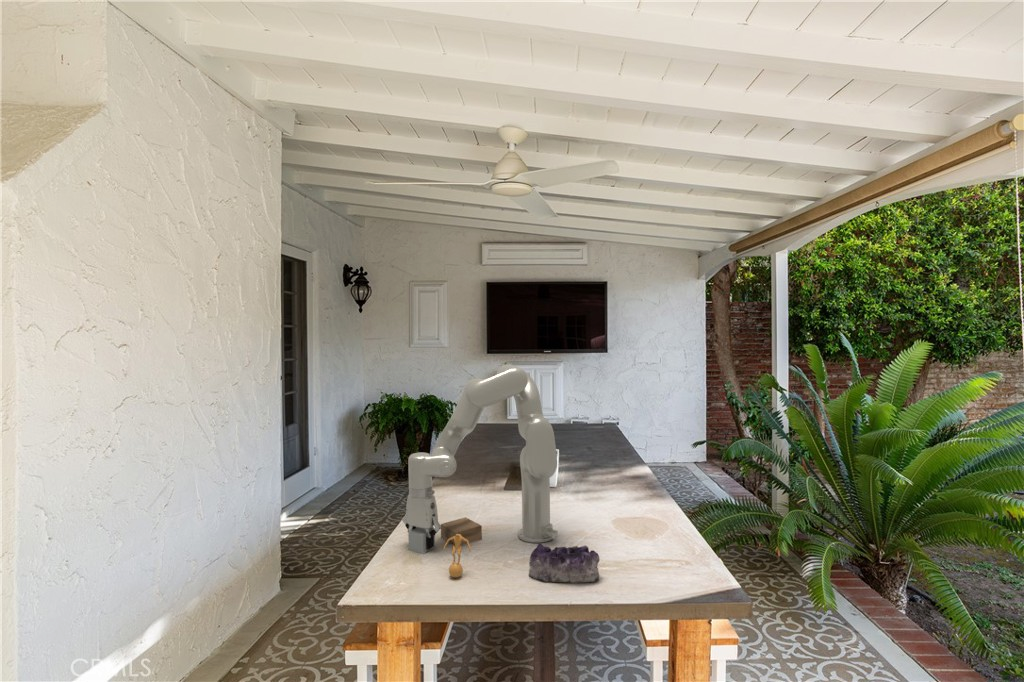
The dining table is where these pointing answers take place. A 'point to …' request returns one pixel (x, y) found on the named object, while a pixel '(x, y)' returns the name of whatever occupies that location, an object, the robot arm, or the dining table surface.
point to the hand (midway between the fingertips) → (421, 545)
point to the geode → (564, 564)
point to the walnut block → (461, 530)
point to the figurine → (456, 568)
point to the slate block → (418, 540)
